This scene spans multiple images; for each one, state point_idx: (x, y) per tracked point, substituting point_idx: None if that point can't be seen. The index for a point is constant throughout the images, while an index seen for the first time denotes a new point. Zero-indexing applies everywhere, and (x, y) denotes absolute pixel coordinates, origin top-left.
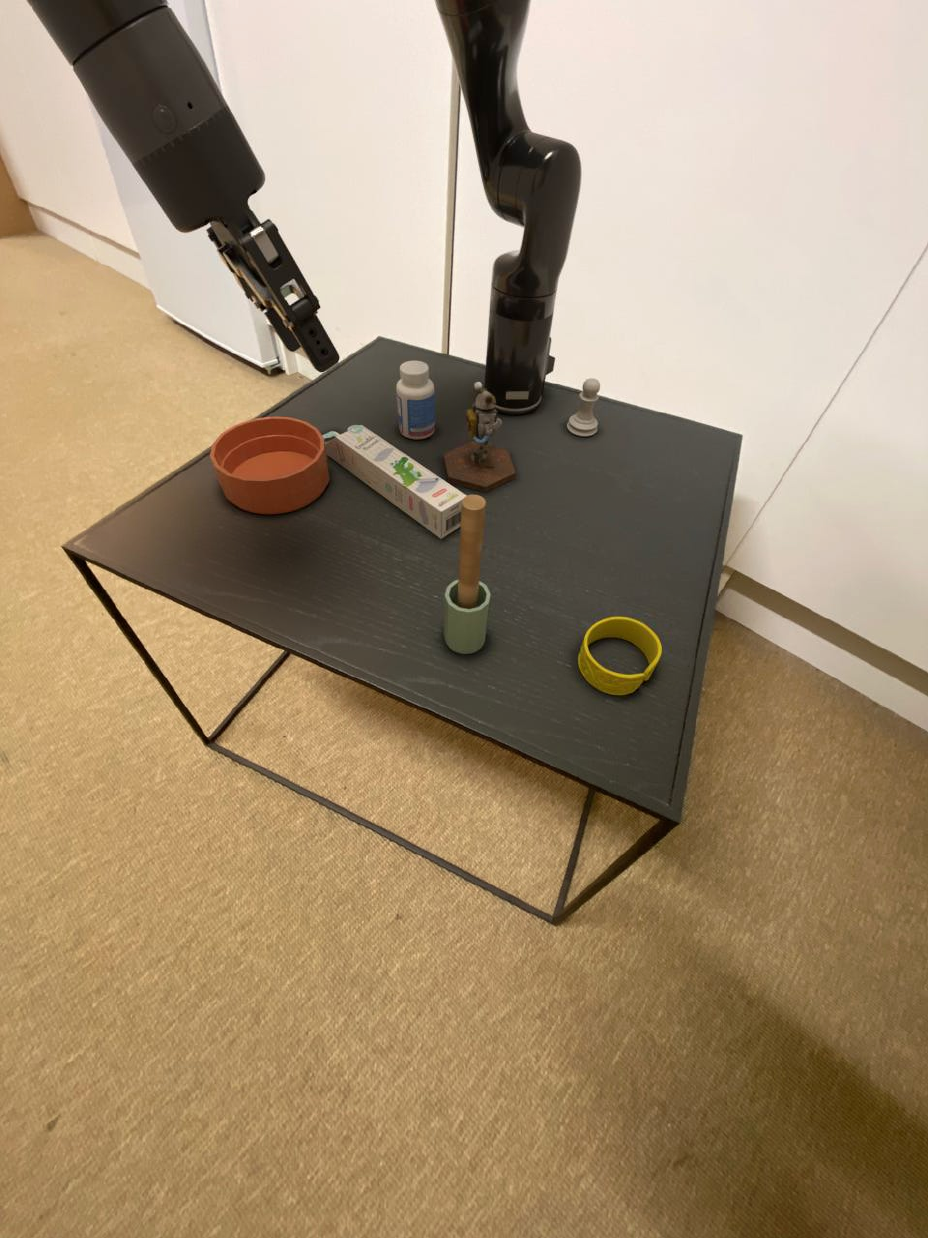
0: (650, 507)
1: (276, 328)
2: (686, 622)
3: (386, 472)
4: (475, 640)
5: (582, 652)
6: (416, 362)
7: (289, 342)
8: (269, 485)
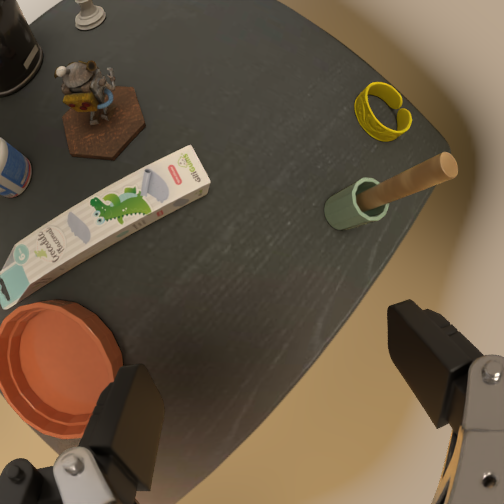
0: (221, 10)
1: (154, 453)
2: (347, 55)
3: (115, 231)
4: None
5: (384, 133)
6: None
7: (157, 413)
8: None
